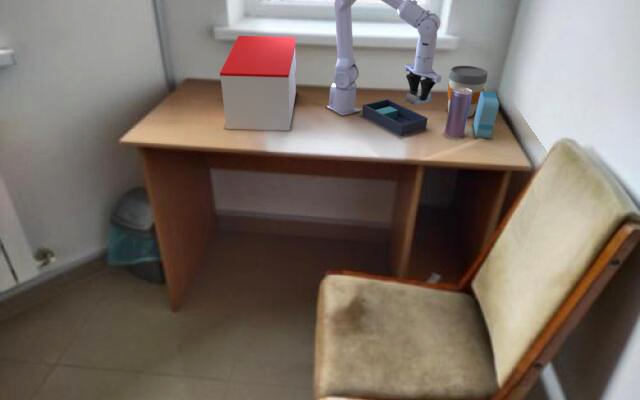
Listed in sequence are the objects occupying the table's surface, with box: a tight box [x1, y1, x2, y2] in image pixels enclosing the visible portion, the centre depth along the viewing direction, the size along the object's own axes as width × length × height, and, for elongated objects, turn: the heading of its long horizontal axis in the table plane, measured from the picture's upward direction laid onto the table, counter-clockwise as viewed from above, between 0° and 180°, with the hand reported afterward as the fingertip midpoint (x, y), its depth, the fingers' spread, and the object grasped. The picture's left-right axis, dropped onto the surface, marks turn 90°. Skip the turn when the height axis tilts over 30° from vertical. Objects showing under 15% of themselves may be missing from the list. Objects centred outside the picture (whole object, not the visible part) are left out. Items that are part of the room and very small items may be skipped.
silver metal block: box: [405, 89, 432, 106], centre depth 145 cm, size 4×7×3 cm, turn 124°
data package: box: [473, 90, 500, 139], centre depth 141 cm, size 12×4×12 cm, turn 167°
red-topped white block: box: [219, 35, 297, 131], centre depth 151 cm, size 21×35×21 cm, turn 179°
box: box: [361, 98, 429, 137], centre depth 148 cm, size 20×11×4 cm, turn 34°
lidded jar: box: [447, 65, 488, 118], centre depth 154 cm, size 13×13×15 cm
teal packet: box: [375, 106, 398, 119], centre depth 151 cm, size 4×7×3 cm, turn 124°
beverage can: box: [444, 87, 472, 139], centre depth 138 cm, size 6×6×15 cm
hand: (418, 97), depth 145 cm, fingers closed on silver metal block, 4 cm apart
